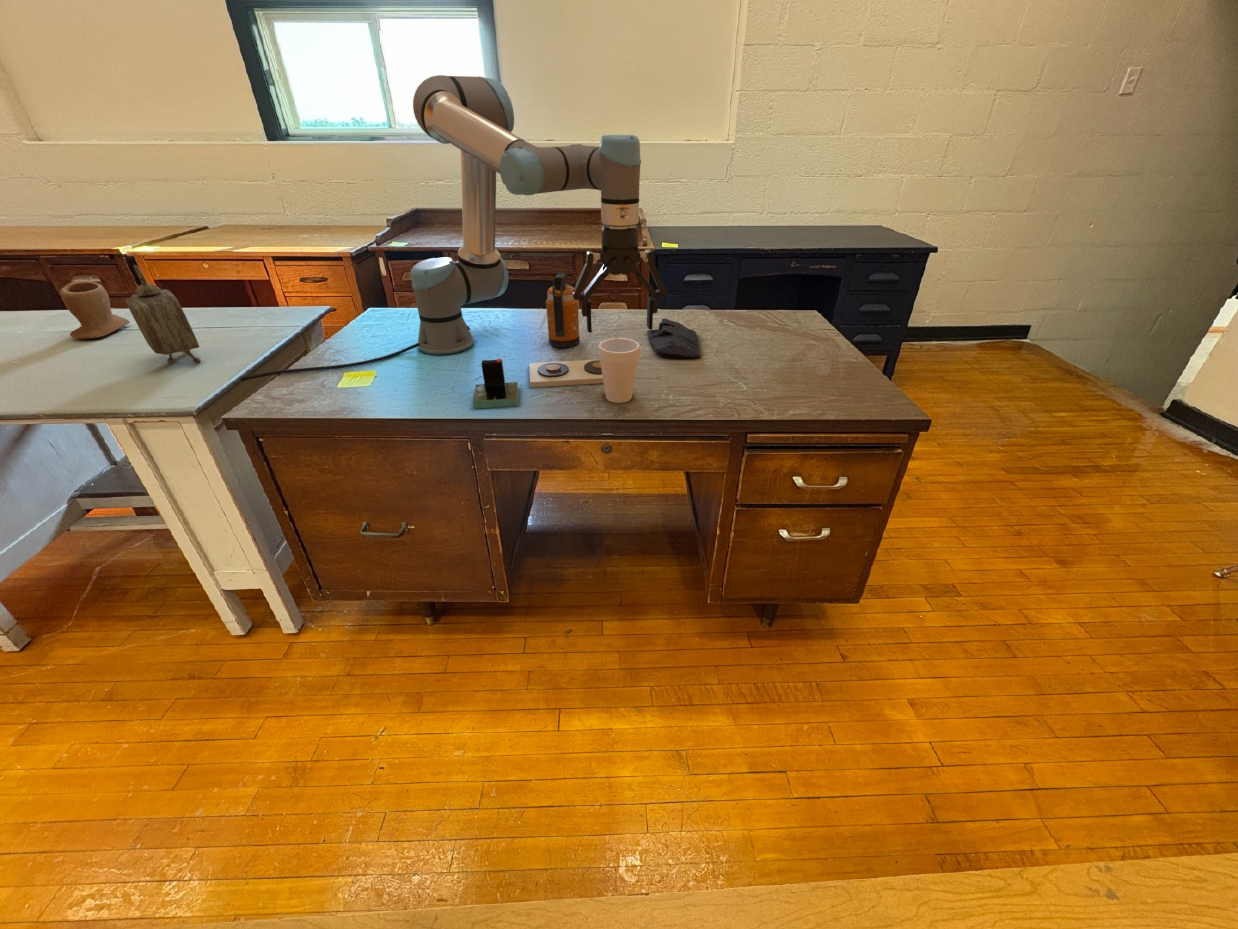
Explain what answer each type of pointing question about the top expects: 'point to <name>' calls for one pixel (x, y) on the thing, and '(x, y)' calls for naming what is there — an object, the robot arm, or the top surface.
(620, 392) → the foam cup
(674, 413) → the top surface
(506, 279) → the robot arm
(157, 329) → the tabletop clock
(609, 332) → the top surface
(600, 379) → the hob
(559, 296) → the canister
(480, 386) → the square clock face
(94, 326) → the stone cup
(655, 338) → the dark grey folded cloth
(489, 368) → the tall black monolith
